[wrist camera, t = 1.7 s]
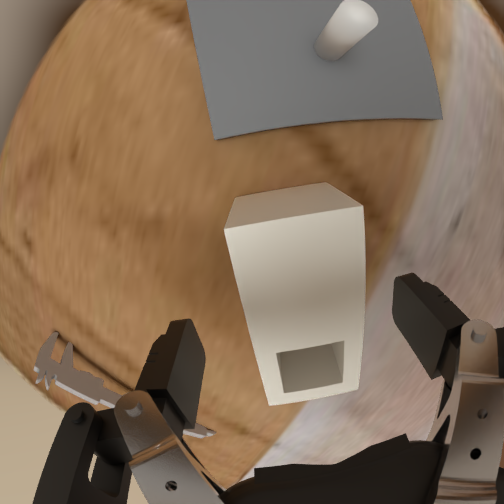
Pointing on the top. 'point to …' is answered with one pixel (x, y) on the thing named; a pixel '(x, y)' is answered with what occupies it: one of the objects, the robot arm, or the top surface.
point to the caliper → (84, 381)
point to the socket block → (301, 287)
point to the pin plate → (311, 63)
